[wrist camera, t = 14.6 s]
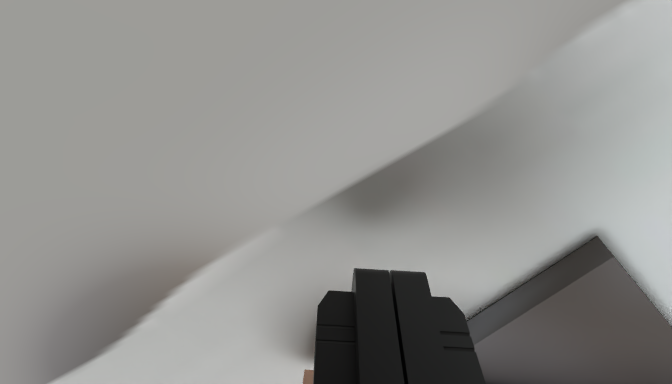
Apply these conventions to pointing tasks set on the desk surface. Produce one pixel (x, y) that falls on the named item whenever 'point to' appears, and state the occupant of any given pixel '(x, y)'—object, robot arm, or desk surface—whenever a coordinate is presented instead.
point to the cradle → (575, 328)
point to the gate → (308, 377)
